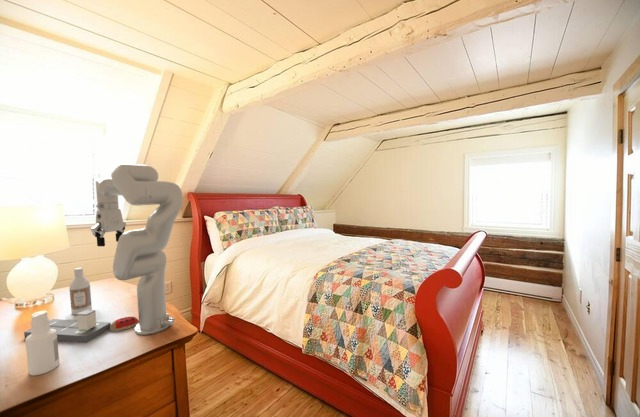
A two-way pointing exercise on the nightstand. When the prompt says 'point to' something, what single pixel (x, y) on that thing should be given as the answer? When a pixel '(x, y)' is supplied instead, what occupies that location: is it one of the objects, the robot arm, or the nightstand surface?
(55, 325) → the mixing desk
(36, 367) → the white bottle
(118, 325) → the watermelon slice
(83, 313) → the fader knob
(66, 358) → the nightstand surface
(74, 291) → the bath foam
